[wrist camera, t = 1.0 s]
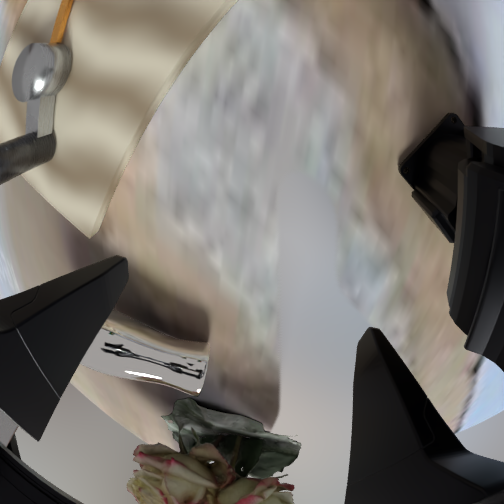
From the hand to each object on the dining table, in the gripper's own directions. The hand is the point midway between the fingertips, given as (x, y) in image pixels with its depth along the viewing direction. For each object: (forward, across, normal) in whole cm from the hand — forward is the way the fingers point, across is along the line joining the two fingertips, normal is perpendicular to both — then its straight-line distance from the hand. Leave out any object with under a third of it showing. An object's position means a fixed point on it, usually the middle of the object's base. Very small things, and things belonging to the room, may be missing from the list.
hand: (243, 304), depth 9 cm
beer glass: (+9, +2, +19) cm, 21 cm away
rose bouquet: (+12, -1, +45) cm, 46 cm away
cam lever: (+10, +20, -8) cm, 24 cm away
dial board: (+12, +20, -9) cm, 25 cm away
